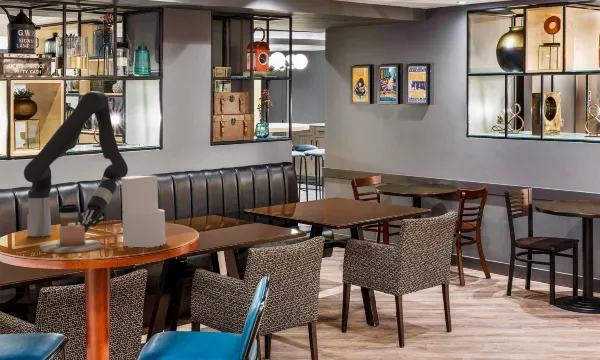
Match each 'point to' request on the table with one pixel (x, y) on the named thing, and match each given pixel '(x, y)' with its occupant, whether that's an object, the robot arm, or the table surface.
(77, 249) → the serving board
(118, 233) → the table surface
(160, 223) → the grey piece
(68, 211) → the coffee cup
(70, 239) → the knobbed pink canister
